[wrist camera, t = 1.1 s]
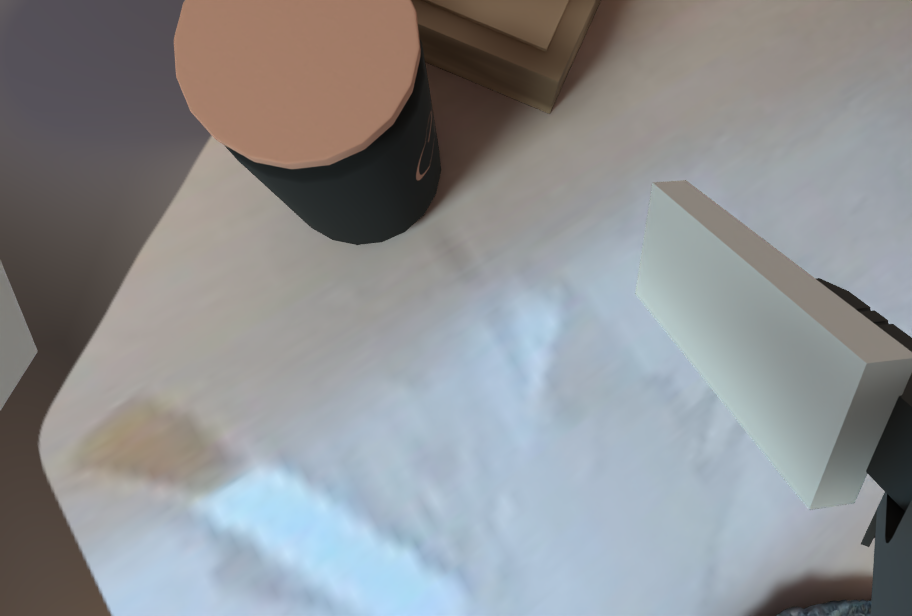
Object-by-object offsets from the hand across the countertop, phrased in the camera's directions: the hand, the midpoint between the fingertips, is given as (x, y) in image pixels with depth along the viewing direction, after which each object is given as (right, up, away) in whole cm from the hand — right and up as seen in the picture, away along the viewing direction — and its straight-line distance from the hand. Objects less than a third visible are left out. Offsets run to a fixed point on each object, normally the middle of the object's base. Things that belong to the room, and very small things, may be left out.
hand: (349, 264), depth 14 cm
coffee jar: (-4, +9, +33) cm, 34 cm away
